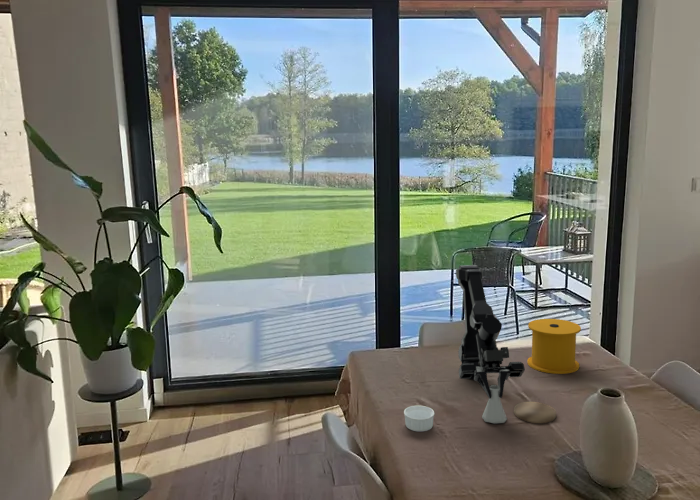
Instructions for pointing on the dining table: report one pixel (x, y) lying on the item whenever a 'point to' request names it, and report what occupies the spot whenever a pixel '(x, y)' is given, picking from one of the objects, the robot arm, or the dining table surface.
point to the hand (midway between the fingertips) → (495, 397)
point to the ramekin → (419, 418)
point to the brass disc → (535, 412)
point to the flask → (494, 407)
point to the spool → (553, 346)
